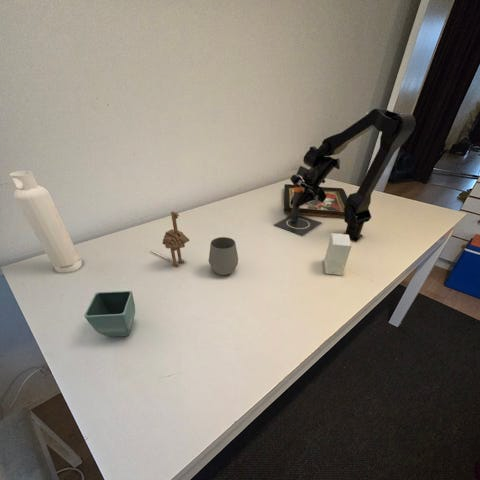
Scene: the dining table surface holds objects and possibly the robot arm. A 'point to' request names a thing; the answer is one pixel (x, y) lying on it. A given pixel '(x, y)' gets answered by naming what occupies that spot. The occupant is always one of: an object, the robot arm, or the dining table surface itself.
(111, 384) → the dining table surface
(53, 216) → the bottle
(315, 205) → the framed painting
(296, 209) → the marker
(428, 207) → the dining table surface
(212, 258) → the cup
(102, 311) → the flower pot
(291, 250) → the dining table surface
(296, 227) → the board
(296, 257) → the dining table surface
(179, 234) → the ostrich figurine
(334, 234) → the small box
